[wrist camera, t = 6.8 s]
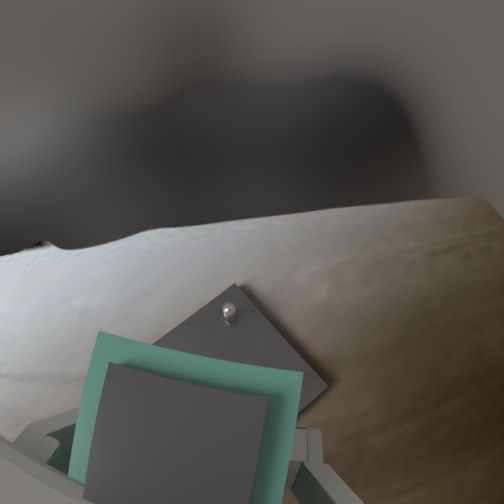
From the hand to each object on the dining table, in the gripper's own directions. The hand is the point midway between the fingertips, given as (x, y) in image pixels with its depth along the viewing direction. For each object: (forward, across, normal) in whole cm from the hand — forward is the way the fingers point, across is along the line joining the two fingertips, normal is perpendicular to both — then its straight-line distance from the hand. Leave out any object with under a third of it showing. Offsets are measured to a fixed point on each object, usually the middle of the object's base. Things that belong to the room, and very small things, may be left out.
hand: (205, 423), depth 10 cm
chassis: (+16, +2, +12) cm, 20 cm away
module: (+3, 0, +4) cm, 5 cm away
